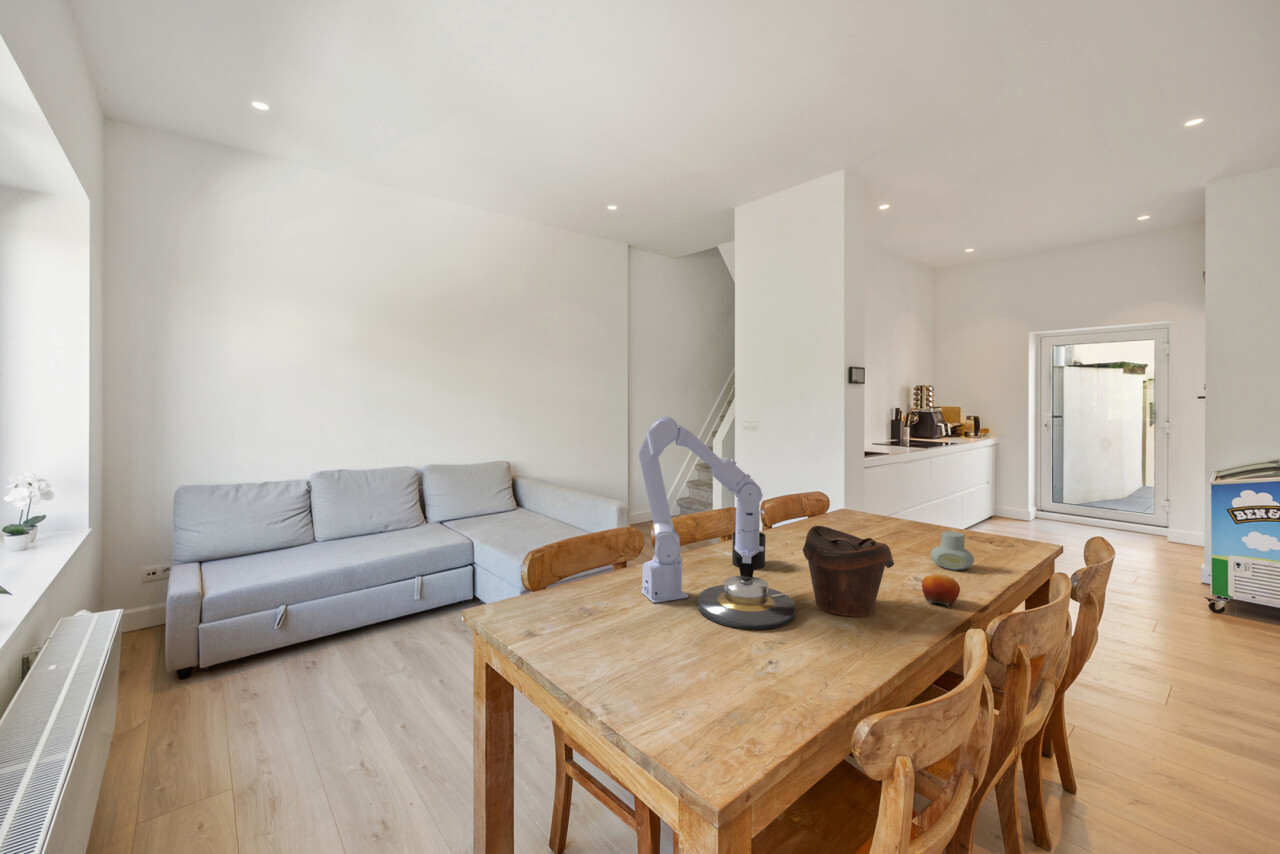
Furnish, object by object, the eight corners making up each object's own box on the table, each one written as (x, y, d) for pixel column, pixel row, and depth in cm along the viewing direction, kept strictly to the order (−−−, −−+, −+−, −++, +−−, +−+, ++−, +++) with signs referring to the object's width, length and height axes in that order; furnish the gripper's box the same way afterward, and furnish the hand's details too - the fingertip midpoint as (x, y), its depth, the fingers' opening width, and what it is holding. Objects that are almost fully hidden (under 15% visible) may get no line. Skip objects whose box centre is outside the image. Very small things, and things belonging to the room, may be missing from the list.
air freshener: (973, 566, 158) (975, 533, 157) (973, 574, 151) (974, 539, 150) (931, 560, 164) (932, 528, 163) (929, 567, 157) (930, 533, 156)
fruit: (921, 601, 127) (922, 568, 130) (921, 608, 133) (922, 576, 136) (961, 608, 123) (961, 573, 126) (958, 615, 129) (959, 581, 132)
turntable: (730, 636, 110) (730, 626, 110) (681, 598, 131) (681, 590, 131) (816, 620, 119) (816, 610, 119) (758, 587, 139) (758, 579, 139)
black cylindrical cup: (776, 563, 160) (776, 533, 160) (752, 571, 152) (753, 540, 151) (749, 556, 167) (750, 527, 167) (725, 564, 159) (726, 533, 158)
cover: (739, 608, 120) (739, 590, 120) (716, 592, 129) (716, 576, 129) (776, 602, 124) (777, 584, 123) (751, 587, 133) (752, 571, 133)
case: (902, 626, 116) (904, 543, 115) (805, 618, 120) (806, 539, 119) (882, 597, 134) (883, 525, 133) (798, 591, 138) (799, 522, 137)
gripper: (765, 537, 124) (763, 595, 124) (763, 522, 138) (762, 575, 139) (733, 535, 125) (732, 593, 126) (735, 521, 139) (734, 573, 140)
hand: (746, 583), depth 132 cm, fingers closed
